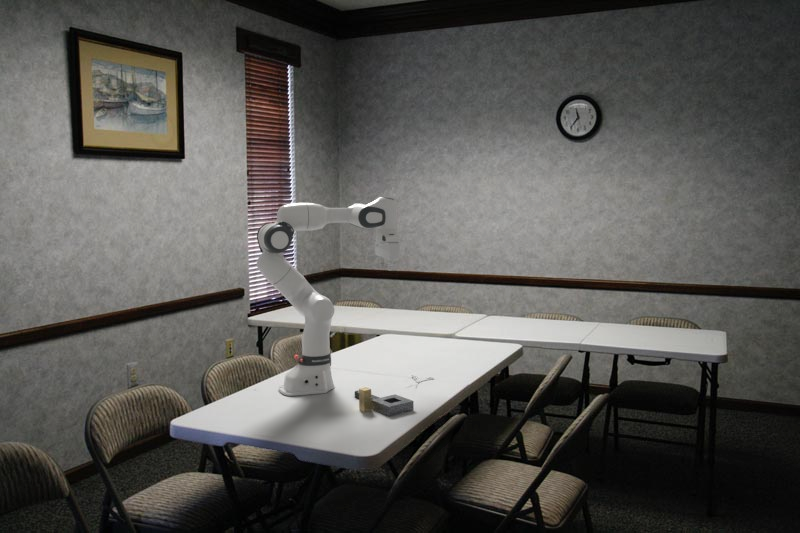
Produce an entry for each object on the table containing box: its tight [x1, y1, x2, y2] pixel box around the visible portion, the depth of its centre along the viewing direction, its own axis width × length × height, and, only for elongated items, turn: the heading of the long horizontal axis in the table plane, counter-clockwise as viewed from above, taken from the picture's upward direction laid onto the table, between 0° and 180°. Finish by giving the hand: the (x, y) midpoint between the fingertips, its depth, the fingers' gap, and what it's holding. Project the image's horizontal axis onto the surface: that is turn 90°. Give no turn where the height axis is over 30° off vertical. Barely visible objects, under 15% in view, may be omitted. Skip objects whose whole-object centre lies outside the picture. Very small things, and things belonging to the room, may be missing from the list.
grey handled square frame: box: [354, 389, 414, 417], centre depth 261 cm, size 11×29×4 cm, turn 38°
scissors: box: [410, 374, 435, 389], centre depth 291 cm, size 11×1×20 cm
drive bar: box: [358, 387, 373, 413], centre depth 253 cm, size 3×3×8 cm
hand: (386, 268), depth 291 cm, fingers open, 8 cm apart
